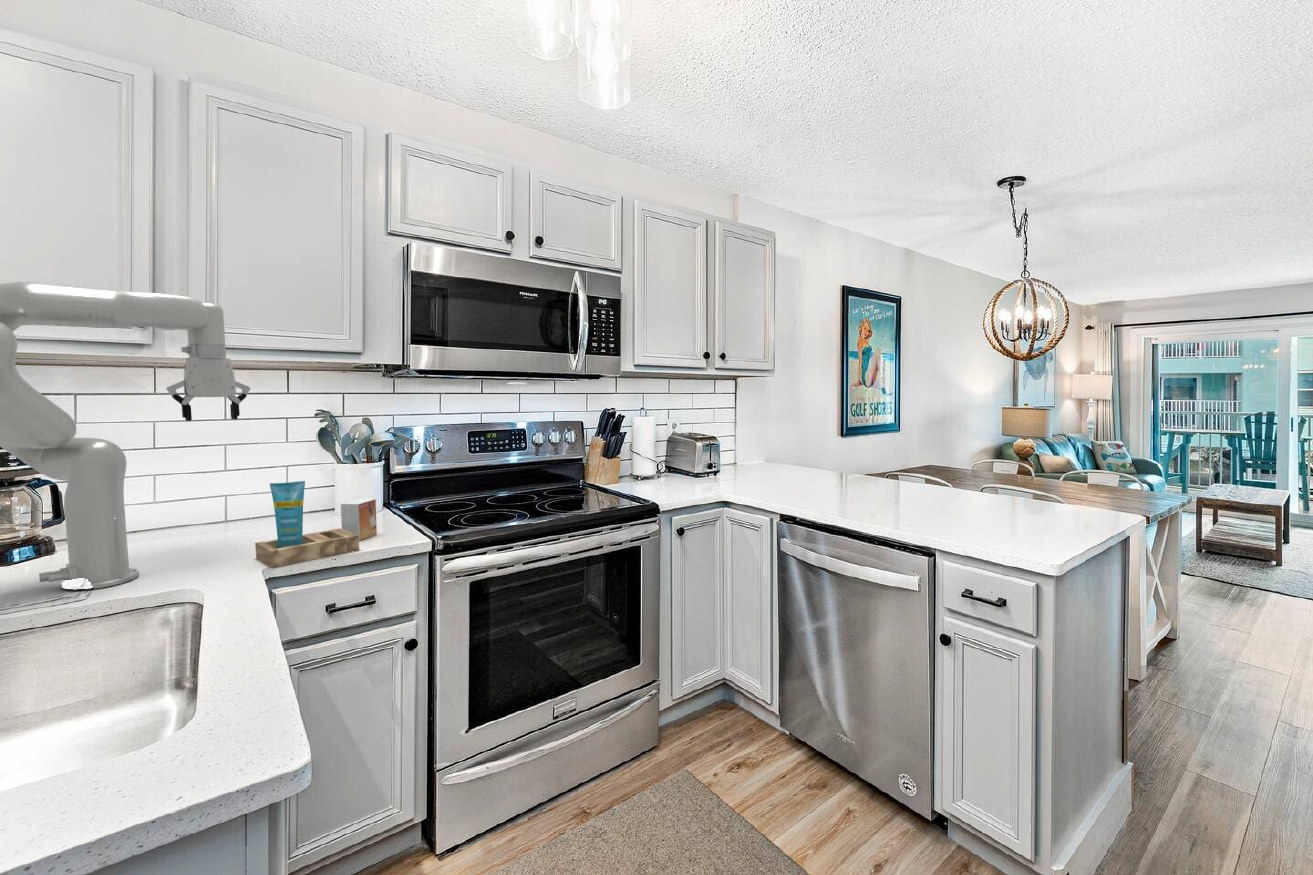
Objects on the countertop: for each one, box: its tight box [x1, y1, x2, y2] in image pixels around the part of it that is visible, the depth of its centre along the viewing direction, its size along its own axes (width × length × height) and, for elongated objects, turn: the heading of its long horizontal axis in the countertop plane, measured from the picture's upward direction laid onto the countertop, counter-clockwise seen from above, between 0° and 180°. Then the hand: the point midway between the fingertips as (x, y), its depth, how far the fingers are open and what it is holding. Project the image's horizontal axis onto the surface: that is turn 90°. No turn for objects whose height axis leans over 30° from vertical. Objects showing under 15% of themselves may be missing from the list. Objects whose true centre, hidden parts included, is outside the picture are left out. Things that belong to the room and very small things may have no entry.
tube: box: [269, 480, 306, 548], centre depth 149 cm, size 7×5×19 cm, turn 122°
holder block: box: [254, 528, 360, 569], centre depth 152 cm, size 20×12×4 cm, turn 139°
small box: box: [340, 498, 378, 542], centre depth 169 cm, size 8×6×10 cm
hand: (212, 419), depth 153 cm, fingers open, 9 cm apart
